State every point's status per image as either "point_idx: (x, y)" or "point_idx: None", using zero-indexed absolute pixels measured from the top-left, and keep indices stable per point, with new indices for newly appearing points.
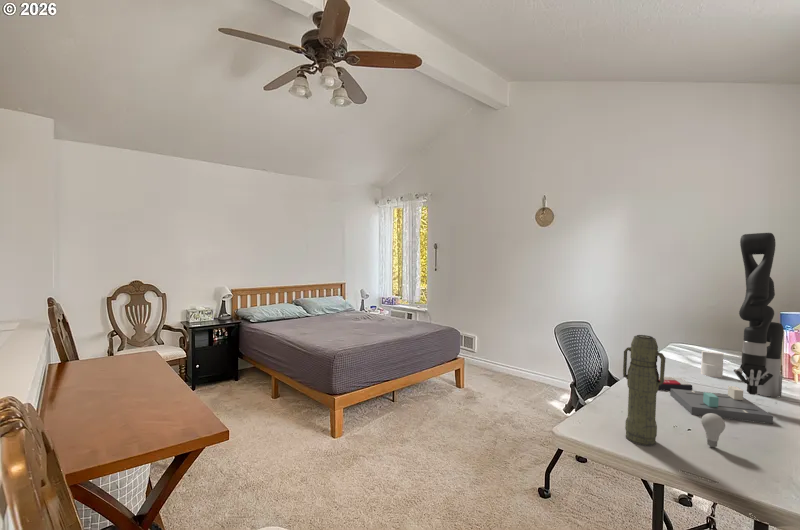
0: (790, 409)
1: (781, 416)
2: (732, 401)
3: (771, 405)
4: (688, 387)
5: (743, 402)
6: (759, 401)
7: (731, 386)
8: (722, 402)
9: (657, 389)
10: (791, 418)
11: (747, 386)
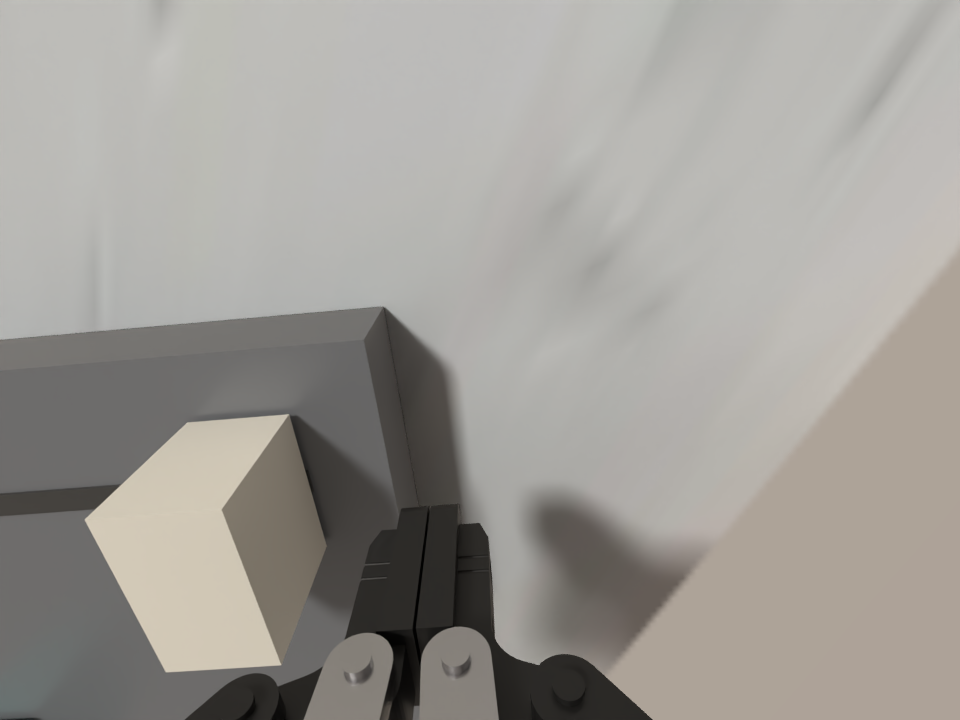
0: (873, 317)
1: (614, 562)
2: None
3: (731, 251)
4: None
5: (319, 592)
6: (667, 122)
7: (134, 530)
8: (119, 661)
9: None
10: (674, 576)
11: (354, 622)
